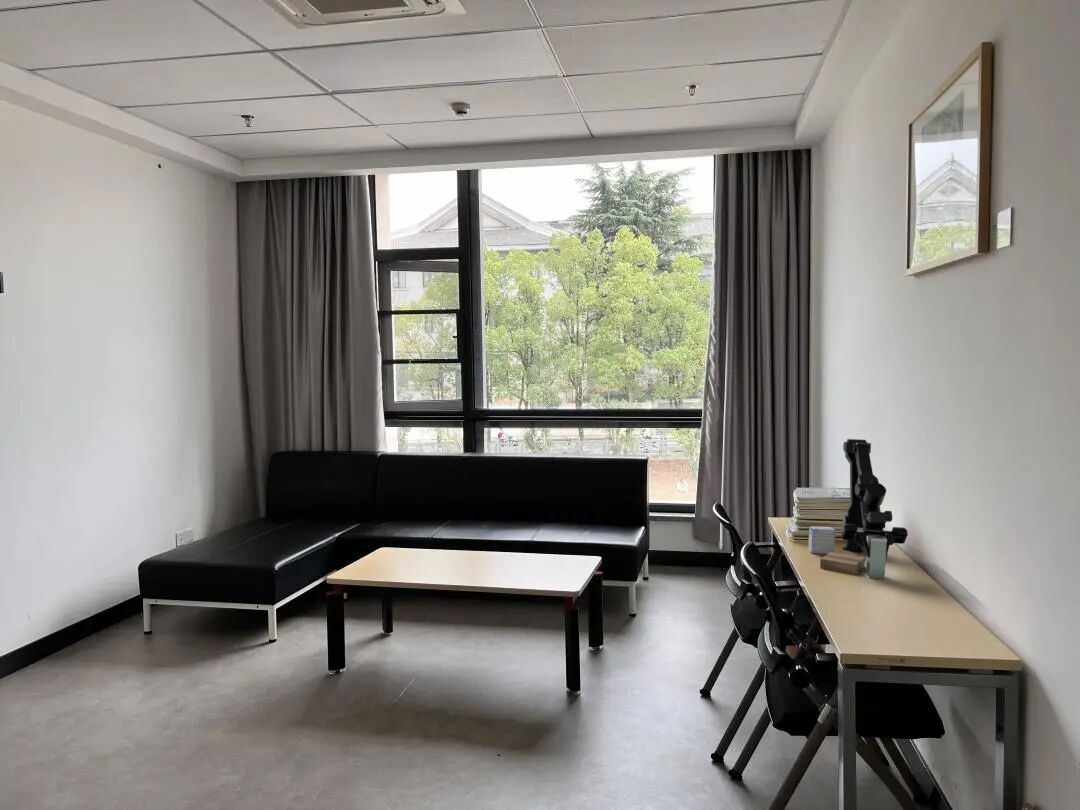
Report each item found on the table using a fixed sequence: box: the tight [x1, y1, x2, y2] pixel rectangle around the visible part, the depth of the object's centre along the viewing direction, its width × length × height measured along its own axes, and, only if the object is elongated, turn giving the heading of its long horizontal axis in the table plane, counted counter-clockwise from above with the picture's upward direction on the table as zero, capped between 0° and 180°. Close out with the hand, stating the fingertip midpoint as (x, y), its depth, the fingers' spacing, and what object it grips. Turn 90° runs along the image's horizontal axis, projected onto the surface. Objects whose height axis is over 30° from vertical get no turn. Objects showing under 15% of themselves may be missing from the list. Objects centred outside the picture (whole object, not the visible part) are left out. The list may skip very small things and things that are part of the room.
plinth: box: [819, 551, 866, 575], centre depth 251 cm, size 11×11×3 cm
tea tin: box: [865, 535, 887, 580], centre depth 241 cm, size 5×5×13 cm
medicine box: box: [807, 525, 836, 555], centre depth 269 cm, size 8×4×9 cm, turn 84°
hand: (877, 557), depth 240 cm, fingers closed on tea tin, 4 cm apart
